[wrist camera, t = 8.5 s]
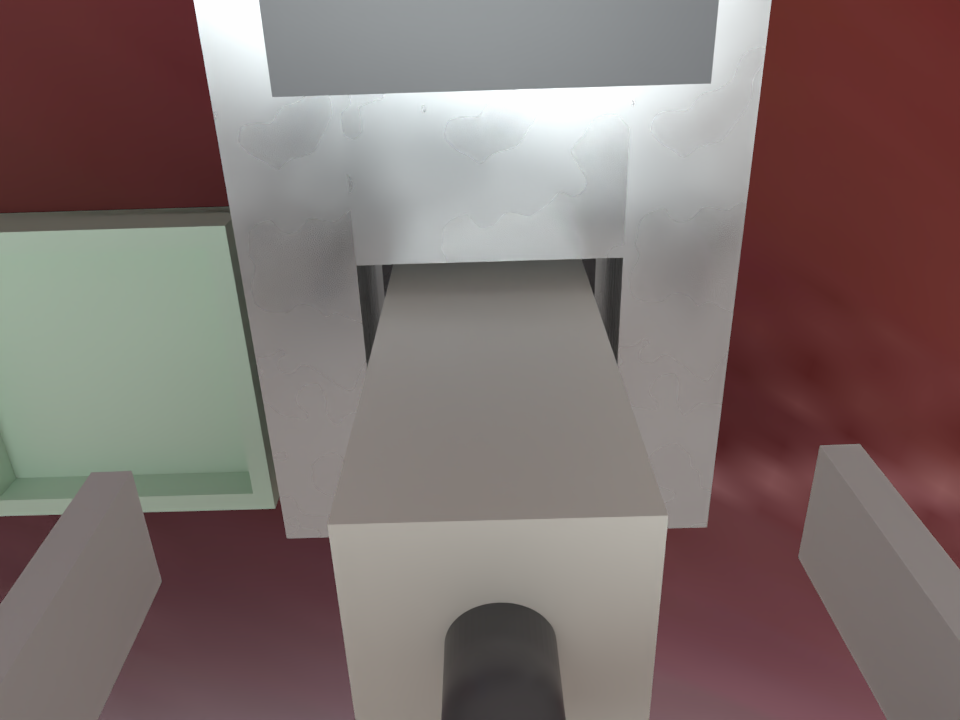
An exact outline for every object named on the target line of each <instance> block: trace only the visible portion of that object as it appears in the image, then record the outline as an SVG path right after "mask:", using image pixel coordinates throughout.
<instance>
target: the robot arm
mask: <svg viewBox="0 0 960 720" xmlns="http://www.w3.org/2000/svg"><path fill="white" fill-rule="evenodd" d="M798 558H799V560H800V562H801V564H802V565H803V567H804V569H805V571H806V573H807V574H808V576H809V578H810V580H811V582H812V584H813V585H814V587H815V589H816V591H817V593H818V594H819V596H820V598H821V600H822V602H823V604H824V605H825V607H826V609H827V611H828V613H829V615H830V616H831V618H832V620H833V622H834V624H835V625H836V627H837V629H838V631H839V633H840V635H841V636H842V638H843V640H844V642H845V644H846V646H847V647H848V649H849V651H850V653H851V655H852V656H853V658H854V660H855V662H856V664H857V666H858V667H859V669H860V671H861V673H862V675H863V676H864V678H865V680H866V682H867V684H868V686H869V687H870V689H871V691H872V693H873V695H874V697H875V698H876V700H877V702H878V704H879V706H880V707H881V709H882V711H883V713H884V715H885V717H886V718H887V720H960V569H959V568H958V567H957V566H956V564H955V563H954V562H953V561H952V559H951V558H950V557H949V556H948V554H947V553H946V552H945V551H944V549H943V548H942V547H941V546H940V544H939V543H938V542H937V540H936V539H935V538H934V537H933V535H932V534H931V533H930V532H929V530H928V529H927V528H926V527H925V525H924V524H923V523H922V522H921V520H920V519H919V518H918V517H917V515H916V514H915V513H914V512H913V510H912V509H911V508H910V507H909V505H908V504H907V503H906V501H905V500H904V499H903V498H902V496H901V495H900V494H899V493H898V491H897V490H896V489H895V488H894V486H893V485H892V484H891V483H890V481H889V480H888V479H887V478H886V476H885V475H884V474H883V473H882V471H881V470H880V469H879V467H878V466H877V465H876V464H875V462H874V461H873V460H872V459H871V457H870V456H869V455H868V454H867V452H866V451H865V450H864V449H863V447H862V446H861V445H860V444H846V445H820V448H819V453H818V458H817V463H816V468H815V473H814V479H813V484H812V489H811V494H810V499H809V504H808V510H807V515H806V520H805V525H804V530H803V535H802V540H801V546H800V551H799V556H798ZM161 582H162V580H161V576H160V573H159V569H158V565H157V562H156V558H155V554H154V551H153V547H152V543H151V540H150V536H149V532H148V529H147V525H146V521H145V518H144V514H143V510H142V507H141V503H140V499H139V496H138V492H137V488H136V485H135V481H134V477H133V474H132V471H115V472H91V474H90V475H89V476H88V478H87V479H86V481H85V482H84V484H83V485H82V487H81V488H80V489H79V491H78V492H77V494H76V495H75V497H74V498H73V500H72V501H71V502H70V504H69V505H68V507H67V508H66V510H65V511H64V513H63V514H62V515H61V517H60V518H59V520H58V521H57V523H56V524H55V526H54V527H53V529H52V530H51V531H50V533H49V534H48V536H47V537H46V539H45V540H44V542H43V543H42V544H41V546H40V547H39V549H38V550H37V552H36V553H35V555H34V556H33V557H32V559H31V560H30V562H29V563H28V565H27V566H26V568H25V569H24V571H23V572H22V573H21V575H20V576H19V578H18V579H17V581H16V582H15V584H14V585H13V586H12V588H11V589H10V591H9V592H8V594H7V595H6V597H5V598H4V599H3V601H2V602H1V604H0V720H98V719H99V716H100V714H101V712H102V710H103V708H104V706H105V703H106V701H107V699H108V697H109V695H110V693H111V690H112V688H113V686H114V684H115V682H116V680H117V677H118V675H119V673H120V671H121V669H122V667H123V665H124V662H125V660H126V658H127V656H128V654H129V652H130V649H131V647H132V645H133V643H134V641H135V639H136V636H137V634H138V632H139V630H140V628H141V626H142V624H143V621H144V619H145V617H146V615H147V613H148V611H149V608H150V606H151V604H152V602H153V600H154V598H155V595H156V593H157V591H158V589H159V587H160V585H161Z"/></svg>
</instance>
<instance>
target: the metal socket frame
mask: <svg viewBox="0 0 960 720" xmlns="http://www.w3.org/2000/svg"><path fill="white" fill-rule="evenodd" d="M771 1H772V0H719V5H718V16H717V26H716V36H715V47H714V57H713V68H712V78H711V84H681V85H648V86H616V87H584V88H552V89H520V90H487V91H455V92H423V93H391V94H359V95H326V96H294V97H272V92H271V85H270V77H269V70H268V63H267V56H266V49H265V42H264V35H263V27H262V20H261V13H260V6H259V0H194V6H195V12H196V17H197V23H198V29H199V35H200V40H201V46H202V52H203V58H204V63H205V69H206V75H207V81H208V87H209V92H210V98H211V104H212V110H213V115H214V121H215V127H216V133H217V138H218V144H219V150H220V156H221V162H222V167H223V173H224V179H225V185H226V190H227V196H228V202H229V208H230V214H231V219H232V225H233V231H234V237H235V242H236V248H237V254H238V260H239V265H240V271H241V277H242V283H243V289H244V294H245V300H246V306H247V312H248V317H249V323H250V329H251V335H252V340H253V346H254V352H255V358H256V364H257V369H258V375H259V381H260V387H261V392H262V398H263V404H264V410H265V415H266V421H267V427H268V433H269V439H270V444H271V450H272V456H273V462H274V467H275V473H276V479H277V485H278V491H279V496H280V502H281V508H282V514H283V519H284V525H285V531H286V537H287V538H323V537H329V533H328V526H327V524H328V520H329V516H330V512H331V508H332V504H333V500H334V496H335V493H336V489H337V485H338V481H339V477H340V473H341V469H342V465H343V461H344V457H345V453H346V449H347V445H348V441H349V437H350V433H351V430H352V426H353V422H354V418H355V414H356V410H357V406H358V402H359V398H360V394H361V390H362V386H363V382H364V378H365V374H366V370H367V366H368V363H369V359H370V355H371V351H372V347H373V343H374V339H375V335H376V331H377V327H378V323H379V319H380V315H381V311H382V307H383V303H384V300H385V296H386V292H387V288H388V284H389V280H390V276H391V272H392V268H393V264H425V263H459V262H493V261H527V260H561V259H582V262H583V265H584V268H585V271H586V274H587V277H588V280H589V283H590V286H591V289H592V292H593V295H594V297H595V300H596V303H597V306H598V309H599V312H600V315H601V318H602V321H603V324H604V327H605V330H606V333H607V336H608V339H609V342H610V345H611V348H612V351H613V354H614V357H615V360H616V362H617V365H618V368H619V371H620V374H621V377H622V380H623V383H624V386H625V389H626V392H627V395H628V398H629V401H630V404H631V407H632V410H633V413H634V416H635V419H636V422H637V424H638V427H639V430H640V433H641V436H642V439H643V442H644V445H645V448H646V451H647V454H648V457H649V460H650V463H651V466H652V469H653V472H654V475H655V478H656V481H657V484H658V487H659V489H660V492H661V495H662V498H663V501H664V504H665V507H666V510H667V513H668V524H667V528H698V527H707V522H708V513H709V505H710V497H711V489H712V481H713V473H714V465H715V456H716V448H717V440H718V432H719V424H720V416H721V408H722V399H723V391H724V383H725V375H726V367H727V359H728V351H729V342H730V334H731V326H732V318H733V310H734V302H735V294H736V285H737V277H738V269H739V261H740V253H741V245H742V237H743V228H744V220H745V212H746V204H747V196H748V188H749V180H750V172H751V163H752V155H753V147H754V139H755V131H756V123H757V115H758V106H759V98H760V90H761V82H762V74H763V66H764V58H765V49H766V41H767V33H768V25H769V17H770V9H771Z"/></svg>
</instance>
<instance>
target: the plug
mask: <svg viewBox="0 0 960 720" xmlns="http://www.w3.org/2000/svg"><path fill="white" fill-rule="evenodd" d="M667 524H668V513H667V510H666V507H665V504H664V501H663V498H662V495H661V492H660V489H659V487H658V484H657V481H656V478H655V475H654V472H653V469H652V466H651V463H650V460H649V457H648V454H647V451H646V448H645V445H644V442H643V439H642V436H641V433H640V430H639V427H638V424H637V422H636V419H635V416H634V413H633V410H632V407H631V404H630V401H629V398H628V395H627V392H626V389H625V386H624V383H623V380H622V377H621V374H620V371H619V368H618V365H617V362H616V360H615V357H614V354H613V351H612V348H611V345H610V342H609V339H608V336H607V333H606V330H605V327H604V324H603V321H602V318H601V315H600V312H599V309H598V306H597V303H596V300H595V297H594V295H593V292H592V289H591V286H590V283H589V280H588V277H587V274H586V271H585V268H584V265H583V262H582V259H561V260H527V261H493V262H459V263H425V264H393V268H392V272H391V276H390V280H389V284H388V288H387V292H386V296H385V300H384V303H383V307H382V311H381V315H380V319H379V323H378V327H377V331H376V335H375V339H374V343H373V347H372V351H371V355H370V359H369V363H368V366H367V370H366V374H365V378H364V382H363V386H362V390H361V394H360V398H359V402H358V406H357V410H356V414H355V418H354V422H353V426H352V430H351V433H350V437H349V441H348V445H347V449H346V453H345V457H344V461H343V465H342V469H341V473H340V477H339V481H338V485H337V489H336V493H335V496H334V500H333V504H332V508H331V512H330V516H329V520H328V524H327V526H328V533H329V540H330V547H331V554H332V561H333V568H334V575H335V582H336V589H337V596H338V603H339V610H340V617H341V624H342V631H343V638H344V645H345V652H346V659H347V666H348V673H349V679H350V686H351V693H352V700H353V707H354V714H355V720H649V714H650V703H651V693H652V682H653V672H654V661H655V651H656V640H657V630H658V619H659V609H660V598H661V588H662V577H663V567H664V556H665V545H666V535H667Z"/></svg>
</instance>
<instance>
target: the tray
mask: <svg viewBox="0 0 960 720" xmlns="http://www.w3.org/2000/svg"><path fill="white" fill-rule="evenodd" d="M115 471H132V474H133V477H134V481H135V485H136V488H137V492H138V496H139V499H140V503H141V507H142V510H143V512H173V511H210V510H247V509H275V508H276V505H277V502H278V499H279V497H280V496H279V491H278V485H277V479H276V473H275V467H274V462H273V456H272V450H271V444H270V439H269V433H268V427H267V421H266V415H265V410H264V404H263V398H262V392H261V387H260V381H259V375H258V369H257V364H256V358H255V352H254V346H253V340H252V335H251V329H250V323H249V317H248V312H247V306H246V300H245V294H244V289H243V283H242V277H241V271H240V265H239V260H238V254H237V248H236V242H235V237H234V231H233V225H232V219H231V214H230V208H229V207H195V208H162V209H129V210H95V211H62V212H29V213H0V516H24V515H61V514H63V513H64V511H65V510H66V508H67V507H68V505H69V504H70V502H71V501H72V500H73V498H74V497H75V495H76V494H77V492H78V491H79V489H80V488H81V487H82V485H83V484H84V482H85V481H86V479H87V478H88V476H89V475H90V474H91V472H115Z"/></svg>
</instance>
